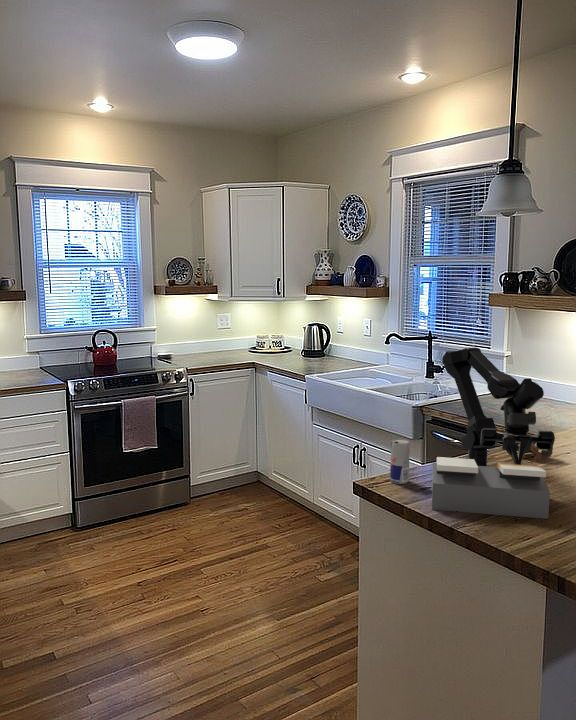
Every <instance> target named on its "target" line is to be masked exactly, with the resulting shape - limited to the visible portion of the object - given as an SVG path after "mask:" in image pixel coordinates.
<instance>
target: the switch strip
mask: <svg viewBox="0 0 576 720" xmlns="http://www.w3.org/2000/svg"><path fill="white" fill-rule="evenodd" d="M431 475H432V478H431V480H432V481H431V510H433V511H446V512H456V511H458V513H471V514H481V515H482V514H483V515H495V516H497V515H498V516H508V517H518V518H519V517H522V518H530V519H534V518H535V519H545V520H549V509H550V496H551V495H550V494H551V491H550V488H549V487H548V485H547V483H546V482H545V479H544V477H535V476H520V475H505V474H502V472H501V471H500V470H499V469H498V468H497V466H489V467H487V466H478V473H466V472H451V471H437V462H432V474H431Z"/></svg>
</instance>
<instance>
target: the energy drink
mask: <svg viewBox="0 0 576 720" xmlns="http://www.w3.org/2000/svg"><path fill="white" fill-rule="evenodd" d="M410 447H411V444H410V441H409V440H408V439H405V438H404V439H403V438H394V439H392V440H391V442H390V468H389V470H390V471H389V481H390V482H391V483H393V484H397V485H405V484H407V483H409V482H410V455H411V454H410V452H411V451H410V450H411V449H410Z"/></svg>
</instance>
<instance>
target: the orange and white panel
mask: <svg viewBox="0 0 576 720" xmlns="http://www.w3.org/2000/svg"><path fill="white" fill-rule="evenodd" d="M496 467H497V468H498V469H499V470H500V471H501V472H502V474H505V475H520V476H535V477H542V478H546V477H547V476H546V475H547V471H546V470H545V469H543V468H542V467H540V466H539V465H538V464H536V463H526V462H521V465H517V464H515V463H514V461H512V462H511V461H510V462H509V461H496Z"/></svg>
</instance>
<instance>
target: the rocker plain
mask: <svg viewBox="0 0 576 720" xmlns="http://www.w3.org/2000/svg"><path fill="white" fill-rule="evenodd" d="M436 463H437V471H451V472H466V473H478V466H477V464H476V462H475V460H474V459H468V458H460V457H459V458H458V457H442V456H437V457H436Z"/></svg>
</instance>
